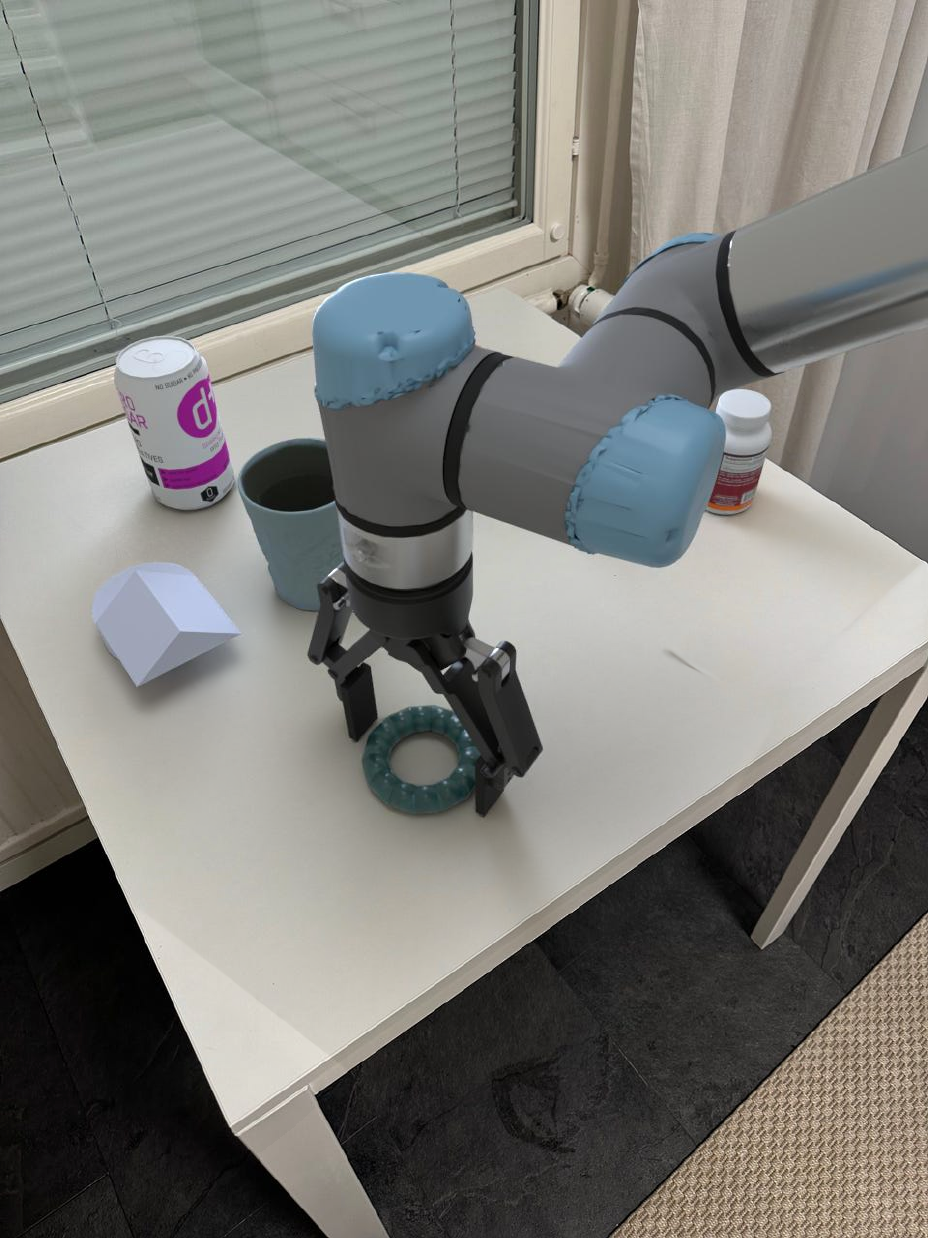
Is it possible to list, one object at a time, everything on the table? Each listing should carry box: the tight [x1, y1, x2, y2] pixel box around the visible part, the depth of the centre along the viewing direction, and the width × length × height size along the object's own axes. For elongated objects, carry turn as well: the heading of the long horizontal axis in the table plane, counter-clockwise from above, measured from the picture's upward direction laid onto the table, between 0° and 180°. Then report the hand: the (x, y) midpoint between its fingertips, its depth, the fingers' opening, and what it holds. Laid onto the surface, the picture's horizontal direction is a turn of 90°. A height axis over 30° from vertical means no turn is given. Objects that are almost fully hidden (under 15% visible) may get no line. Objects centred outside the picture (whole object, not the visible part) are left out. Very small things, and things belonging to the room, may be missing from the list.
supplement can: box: [113, 335, 236, 511], centre depth 85 cm, size 8×8×15 cm
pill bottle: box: [705, 388, 773, 515], centre depth 85 cm, size 6×6×11 cm
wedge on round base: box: [90, 561, 242, 688], centre depth 74 cm, size 9×7×13 cm
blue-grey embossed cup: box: [237, 437, 344, 612], centre depth 77 cm, size 10×10×12 cm
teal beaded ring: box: [361, 704, 481, 815], centre depth 67 cm, size 9×9×2 cm
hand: (424, 763), depth 67 cm, fingers open, 11 cm apart
